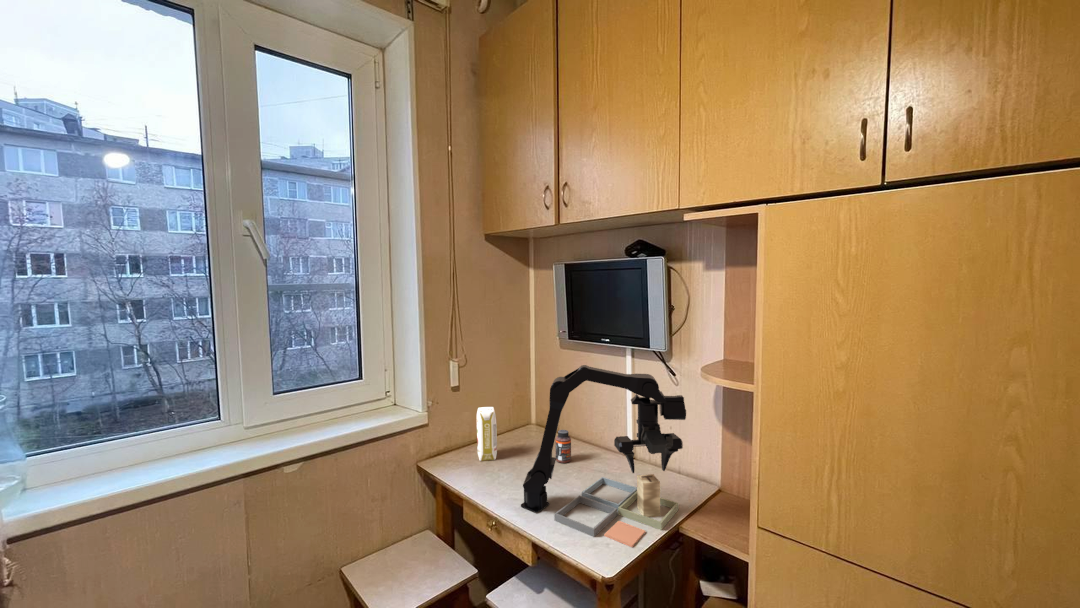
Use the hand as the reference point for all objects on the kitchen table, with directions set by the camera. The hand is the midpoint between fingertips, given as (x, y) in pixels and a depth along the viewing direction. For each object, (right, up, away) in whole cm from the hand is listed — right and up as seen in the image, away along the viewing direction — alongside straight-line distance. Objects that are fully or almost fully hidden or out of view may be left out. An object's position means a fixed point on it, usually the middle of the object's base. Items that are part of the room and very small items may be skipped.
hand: (648, 471), depth 121 cm
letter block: (0, -12, 0) cm, 12 cm away
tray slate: (-9, -12, +10) cm, 18 cm away
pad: (-9, -13, -10) cm, 18 cm away
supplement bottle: (-23, -11, +38) cm, 45 cm away
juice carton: (-52, -12, +42) cm, 68 cm away
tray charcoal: (-18, -13, -2) cm, 22 cm away
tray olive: (0, -12, 0) cm, 12 cm away
